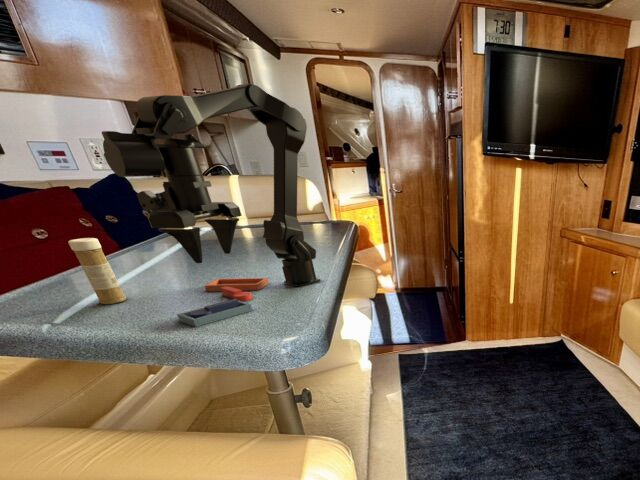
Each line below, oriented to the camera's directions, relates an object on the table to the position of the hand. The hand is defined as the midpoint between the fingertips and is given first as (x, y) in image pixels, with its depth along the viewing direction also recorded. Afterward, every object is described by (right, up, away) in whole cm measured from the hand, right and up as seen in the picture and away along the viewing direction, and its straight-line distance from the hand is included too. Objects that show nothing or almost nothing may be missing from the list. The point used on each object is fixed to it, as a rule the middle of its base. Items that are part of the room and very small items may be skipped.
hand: (214, 258), depth 84 cm
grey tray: (+2, -13, -2) cm, 13 cm away
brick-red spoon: (-1, -6, +9) cm, 11 cm away
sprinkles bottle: (-26, -8, +5) cm, 28 cm away
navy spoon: (+2, -12, -2) cm, 13 cm away
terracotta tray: (-6, -2, +16) cm, 17 cm away
